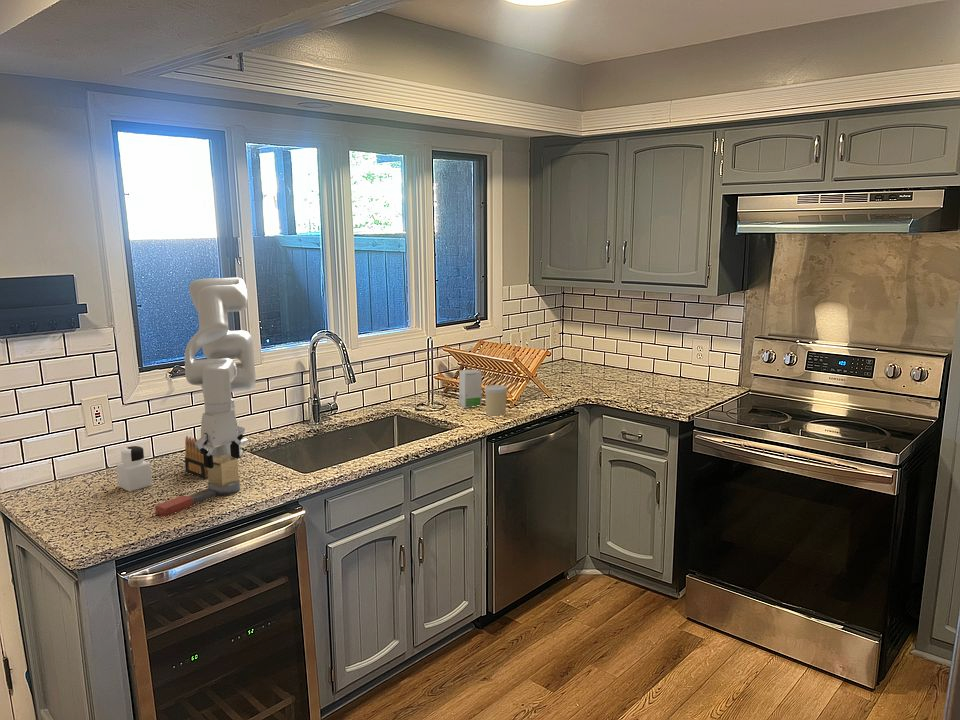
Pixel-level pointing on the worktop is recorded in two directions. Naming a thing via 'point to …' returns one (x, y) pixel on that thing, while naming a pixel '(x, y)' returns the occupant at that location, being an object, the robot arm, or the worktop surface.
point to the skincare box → (470, 388)
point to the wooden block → (223, 471)
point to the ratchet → (195, 498)
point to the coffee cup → (495, 399)
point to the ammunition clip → (194, 459)
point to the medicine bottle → (133, 469)
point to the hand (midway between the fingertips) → (222, 462)
